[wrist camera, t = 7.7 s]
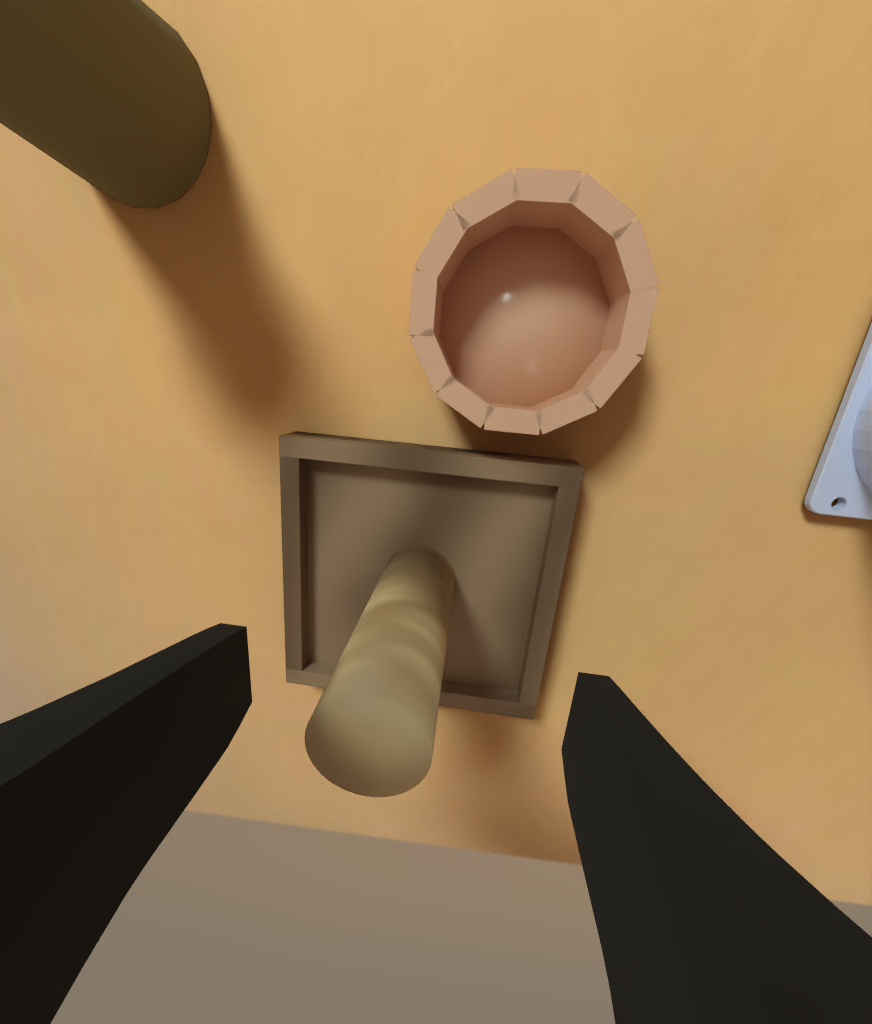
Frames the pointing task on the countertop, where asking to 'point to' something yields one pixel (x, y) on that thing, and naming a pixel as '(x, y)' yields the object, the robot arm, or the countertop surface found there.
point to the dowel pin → (387, 682)
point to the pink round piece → (532, 300)
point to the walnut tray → (436, 525)
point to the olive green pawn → (105, 95)
